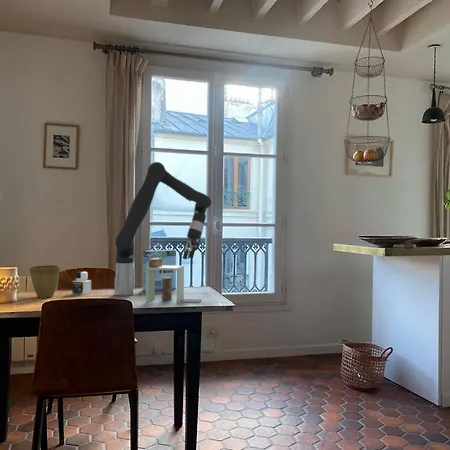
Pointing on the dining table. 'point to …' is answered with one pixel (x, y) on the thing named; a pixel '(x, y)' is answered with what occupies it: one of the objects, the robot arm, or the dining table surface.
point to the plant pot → (45, 279)
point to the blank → (167, 288)
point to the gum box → (167, 259)
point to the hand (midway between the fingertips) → (187, 258)
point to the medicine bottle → (81, 284)
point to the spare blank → (155, 262)
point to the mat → (192, 300)
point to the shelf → (151, 281)
